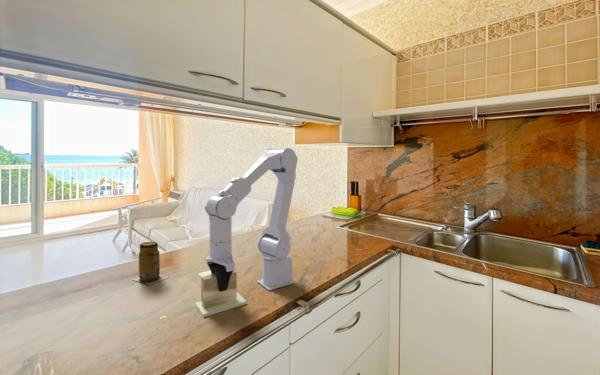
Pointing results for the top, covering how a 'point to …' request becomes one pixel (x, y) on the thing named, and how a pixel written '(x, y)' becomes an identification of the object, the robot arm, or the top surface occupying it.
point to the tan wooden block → (217, 291)
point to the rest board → (220, 306)
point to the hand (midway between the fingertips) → (220, 288)
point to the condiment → (149, 264)
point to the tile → (204, 273)
